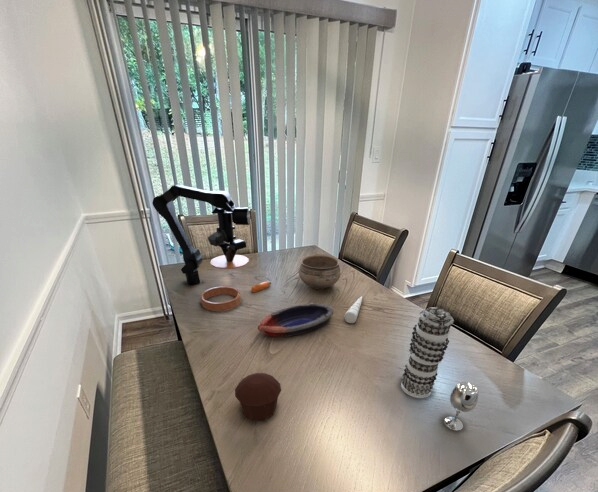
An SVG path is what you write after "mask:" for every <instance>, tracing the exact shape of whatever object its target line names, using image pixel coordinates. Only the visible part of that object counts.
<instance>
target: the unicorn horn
mask: <svg viewBox="0 0 598 492" xmlns="http://www.w3.org/2000/svg"><path fill="white" fill-rule="evenodd" d="M362 302H363V295H360V296H359V297H358V299H356V301H354V302H353V304H352V305H351V306H350V307H349V308H348V310H347V311H346V312H345V313H344V315H343V319H344V321H345V322H346V323H348V324H354V323H356V321H357V319H358V316H359V313H360V309H361V307H362Z"/></svg>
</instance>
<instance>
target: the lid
mask: <svg viewBox="0 0 598 492" xmlns="http://www.w3.org/2000/svg"><path fill="white" fill-rule="evenodd" d="M226 258H227V259H226ZM249 262H250V259H249V258H248V256H245V255H242V254H235V256H234V259H233V261H230V257H229V252H228V251H227V252H226V257H225V255H224V254H223V255H219V256H216V257H213V258H212V259H211V260H210V265H211V266H212V267H214V268H216V269H220V270H221V269H222V270H233V269H234V270H235V269H238V268H239V269H240V268H242V267H243V268H244V267H245V266H247V265H248V264H249Z"/></svg>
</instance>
